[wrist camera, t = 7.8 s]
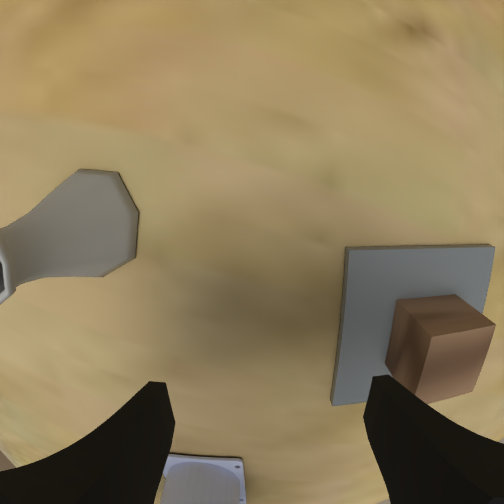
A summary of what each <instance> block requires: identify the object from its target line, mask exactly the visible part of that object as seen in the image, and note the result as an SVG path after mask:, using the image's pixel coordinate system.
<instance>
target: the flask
mask: <svg viewBox="0 0 504 504" xmlns="http://www.w3.org/2000/svg"><path fill="white" fill-rule="evenodd" d="M137 224H138V211H137V209H136V207H135V205H134V203H133V202H132V200H131V198H130V196H129V194H128V192H127V190H126V188H125V186H124V184H123V182H122V180H121V178H120V176H119V174H118V172H109V171H98V170H87V169H79V170H77V171H76V172H75V173H74V174H72V175H71V176H70V177H69V178H67V179H66V180H65V181H64V182H63V183H61V184H60V185H59V186H58V187H57V188H55V189H54V190H53V191H52V192H51V193H50V194H48V195H47V196H46V197H45V198H44V199H43V200H42V201H41V202H40V203H39V204H38V205H37V206H36V207H35V208H33V209H32V210H31V211H30V212H29V213H28V214H26V215H24V216H23V217H21V218H19V219H18V220H16V221H14V222H13V223H11V224H10V225H8V226H6V227H3V228H1V229H0V304H2V303H3V302H4V301H5V300H6V299H7V298H9V297H10V296H11V295H12V294H13V293H14V292H15V291H16V287H17V286H19V285H20V284H23V283H26V282H30V281H33V280H37V279H41V278H44V277H104V276H105V275H107V274H109V273H110V272H112V271H114V270H115V269H117V268H119V267H121V266H122V265H124V264H126V263H127V262H129V261H131V260H133V259H134V258H135V251H136V237H137Z"/></svg>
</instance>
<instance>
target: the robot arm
mask: <svg viewBox="0 0 504 504" xmlns="http://www.w3.org/2000/svg"><path fill="white" fill-rule="evenodd" d="M363 418H364V423H365V427H366V432H367V436H368V440H369V442H370V445H371V448H372V450H373V453H374V455H375V458H376V461H377V463H378V466H379V468H380V471H381V473H382V476H383V479H384V481H385V484H386V487H387V490H388V493H389V498H390V502H391V504H504V444H502V443H499V442H496V441H493V440H491V439H488V438H486V437H483V436H480V435H478V434H476V433H474V432H472V431H470V430H468V429H466V428H464V427H462V426H460V425H458V424H456V423H455V422H453V421H451V420H450V419H448V418H446V417H445V416H443V415H442V414H440V413H439V412H437V411H436V410H434V409H433V408H431V407H430V406H429V405H427V404H426V403H425V402H423V401H422V400H421V399H419V398H418V397H417V396H415V395H414V394H413V393H412V392H410V391H409V390H408V389H407V388H405V387H404V386H403V385H402V384H400V383H399V382H398V381H397V380H395V379H394V378H393V377H391V376H390V375H389V374H387V375H380V376H373V378H372V383H371V387H370V391H369V396H368V400H367V404H366V408H365V412H364V415H363ZM174 427H175V419H174V416H173V412H172V408H171V403H170V399H169V395H168V391H167V386H166V383H164V382H152V381H149V382H148V383H147V384H146V385H145V386H144V387H143V388H142V389H141V390H140V391H138V392H137V393H136V394H135V395H134V396H133V397H132V398H131V399H130V400H129V401H128V402H127V403H126V404H125V405H124V406H122V407H121V408H120V409H119V410H118V411H117V412H116V413H115V414H113V415H112V416H111V417H110V418H109V419H107V420H106V421H105V422H104V423H102V424H101V425H100V426H99V427H97V428H96V429H95V430H94V431H92V432H91V433H89V434H88V435H86V436H85V437H83V438H82V439H80V440H79V441H77V442H75V443H74V444H72V445H70V446H69V447H67V448H65V449H63V450H61V451H59V452H57V453H55V454H53V455H51V456H49V457H46V458H44V459H41V460H39V461H36V462H34V463H31V464H28V465H25V466H21V467H18V468H14V469H9V470H5V471H1V472H0V504H154V500H155V496H156V492H157V489H158V486H159V483H160V480H161V477H162V473H163V474H164V477H165V479H166V481H165V485H164V489H163V493H162V496H161V500H160V504H247V500H246V490H245V479H244V468H243V460H241V459H239V458H214V457H197V456H185V455H175V454H169V451H170V448H171V444H172V439H173V433H174Z"/></svg>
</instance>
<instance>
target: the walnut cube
mask: <svg viewBox="0 0 504 504" xmlns="http://www.w3.org/2000/svg"><path fill="white" fill-rule="evenodd" d="M495 326H496V324H494V323H493V322H492V321H490V320H489V319H488V318H487V317H485V316H484V315H483V314H481V313H480V312H479V311H477V310H476V309H475V308H474V307H472V306H471V305H470V304H468V303H467V302H466V301H464V300H463V299H461V298H460V297H459V296H457V295H456V294H451V295H441V296H431V297H420V298H408V299H396V305H395V311H394V317H393V323H392V329H391V334H390V339H389V345H388V350H387V354H386V359H385V365H386V366H387V368H388V370H389V371H390V373H391V375H392V376H393V378H394V379H395V380H397V381H398V382H399V383H400V384H402V385H403V386H404V387H405V388H407V389H408V390H409V391H410V392H412V393H413V394H414V395H415V396H417V397H418V398H419V399H421V400H422V401H423V402H425V403H426V404H429V403H433V402H437V401H441V400H445V399H448V398H452V397H455V396H459V395H462V394H466V393H469V392H472V391H473V389H474V386H475V384H476V382H477V379H478V376H479V374H480V371H481V369H482V366H483V363H484V360H485V358H486V355H487V352H488V349H489V346H490V343H491V339H492V336H493V333H494V330H495Z"/></svg>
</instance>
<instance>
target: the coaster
mask: <svg viewBox="0 0 504 504" xmlns="http://www.w3.org/2000/svg"><path fill="white" fill-rule="evenodd" d="M494 252H495V247H494V246H492V245H489V244H480V245H424V246H373V247H346V249H345V267H344V283H343V296H342V308H341V318H340V328H339V338H338V346H337V355H336V363H335V370H334V378H333V385H332V391H331V398H330V400H331V404H332V406H338V405H347V404H355V403H362V402H367V400H368V396H369V391H370V387H371V383H372V378H373V376H380V375H387V374H389V375H390V376H391V377H393V376H392V375H391V373H390V371H389V370H388V368H387V366H386V365H385V359H386V354H387V350H388V345H389V339H390V334H391V329H392V323H393V317H394V311H395V305H396V299H408V298H420V297H431V296H441V295H451V294H456V295H457V296H459V297H460V298H461V299H463V300H464V301H466V302H467V303H468V304H470V305H471V306H472V307H474V308H475V309H476V310H477V311H479V312H480V313H481V314H482V313H483V309H484V305H485V301H486V296H487V291H488V287H489V282H490V276H491V271H492V265H493V259H494Z"/></svg>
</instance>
